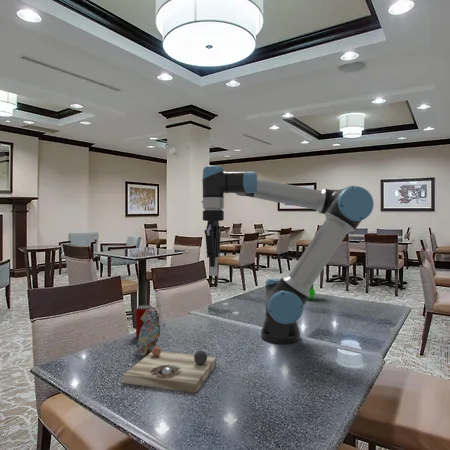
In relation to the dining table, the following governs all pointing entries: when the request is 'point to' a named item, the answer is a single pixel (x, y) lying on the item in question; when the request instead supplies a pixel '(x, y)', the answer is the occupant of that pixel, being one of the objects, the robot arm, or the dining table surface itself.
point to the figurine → (148, 332)
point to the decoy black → (200, 357)
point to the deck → (180, 378)
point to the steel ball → (166, 371)
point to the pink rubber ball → (156, 351)
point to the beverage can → (139, 314)
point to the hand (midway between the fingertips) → (213, 275)
